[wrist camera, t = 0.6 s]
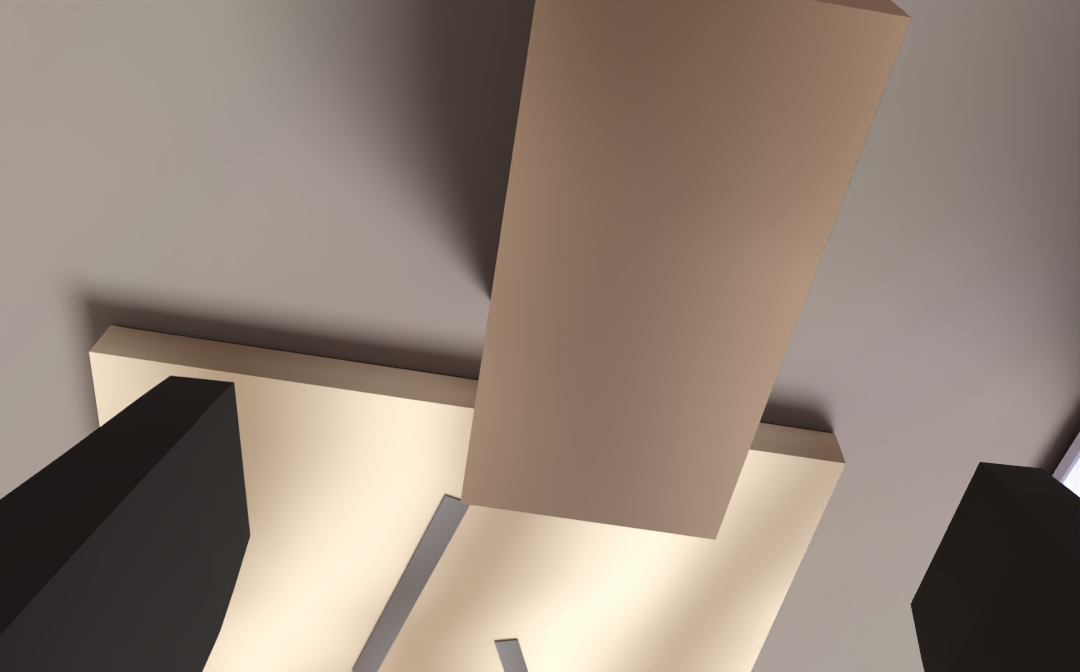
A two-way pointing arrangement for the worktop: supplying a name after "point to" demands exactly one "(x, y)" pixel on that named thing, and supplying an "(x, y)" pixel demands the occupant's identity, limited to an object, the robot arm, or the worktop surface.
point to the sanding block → (663, 245)
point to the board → (461, 533)
